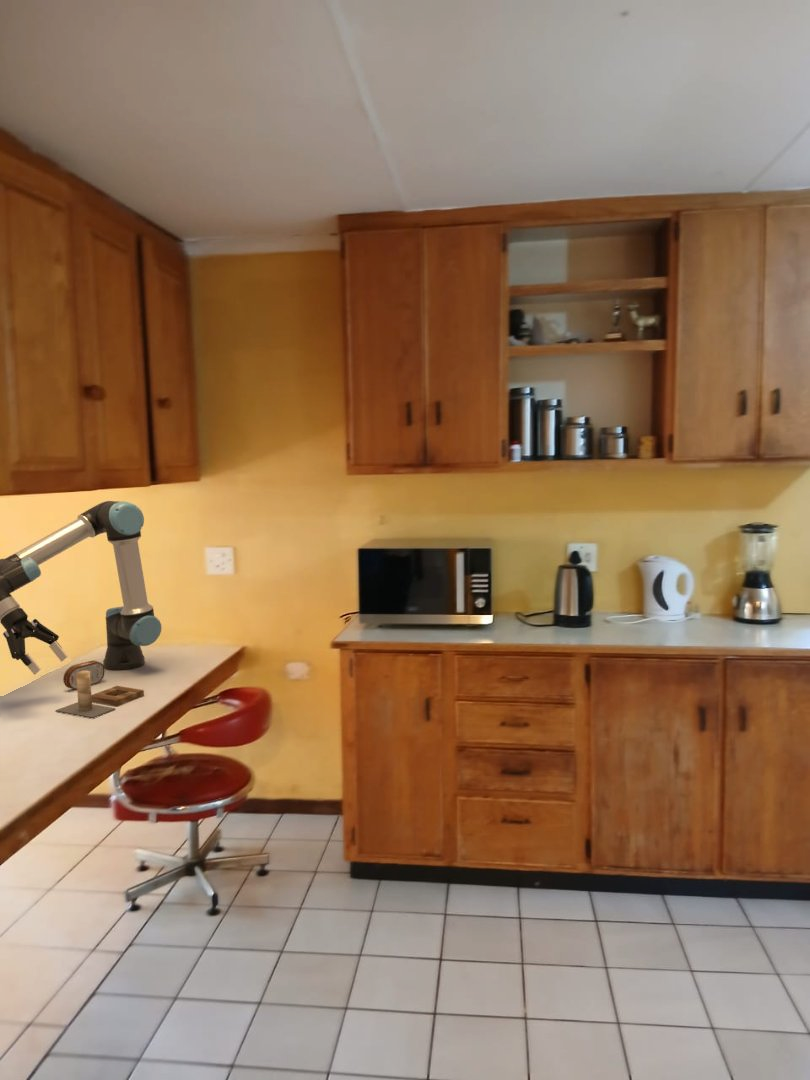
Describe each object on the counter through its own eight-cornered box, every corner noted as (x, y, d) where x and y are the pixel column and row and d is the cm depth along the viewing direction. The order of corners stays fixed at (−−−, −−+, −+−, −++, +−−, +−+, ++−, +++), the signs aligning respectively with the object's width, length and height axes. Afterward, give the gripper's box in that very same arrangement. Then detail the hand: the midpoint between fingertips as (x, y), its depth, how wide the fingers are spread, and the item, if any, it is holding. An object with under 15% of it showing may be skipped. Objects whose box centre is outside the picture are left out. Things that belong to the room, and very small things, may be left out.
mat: (78, 703, 240) (78, 701, 239) (115, 709, 233) (115, 708, 233) (55, 711, 231) (55, 710, 231) (92, 718, 225) (92, 717, 225)
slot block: (117, 691, 252) (117, 685, 252) (143, 695, 247) (143, 690, 247) (89, 701, 241) (89, 695, 241) (116, 706, 236) (116, 700, 236)
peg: (85, 706, 235) (83, 669, 233) (95, 707, 233) (92, 671, 232) (75, 710, 231) (73, 673, 230) (85, 712, 230) (82, 675, 228)
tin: (101, 680, 265) (100, 657, 264) (106, 681, 264) (105, 658, 263) (63, 691, 252) (62, 667, 251) (69, 692, 251) (67, 668, 250)
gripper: (28, 611, 248) (67, 660, 249) (-26, 631, 224) (17, 684, 224) (42, 598, 247) (82, 647, 247) (-11, 616, 222) (33, 670, 223)
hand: (51, 665), depth 236 cm, fingers open, 13 cm apart
